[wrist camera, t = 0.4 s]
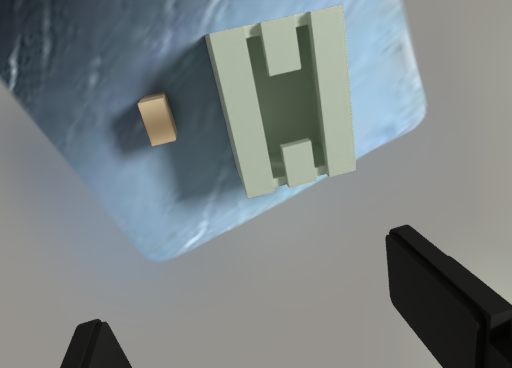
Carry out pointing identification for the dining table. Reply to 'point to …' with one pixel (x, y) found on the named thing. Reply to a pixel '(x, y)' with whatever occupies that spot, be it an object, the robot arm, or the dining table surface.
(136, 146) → the dining table surface
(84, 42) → the dining table surface
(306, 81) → the box
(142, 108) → the block
